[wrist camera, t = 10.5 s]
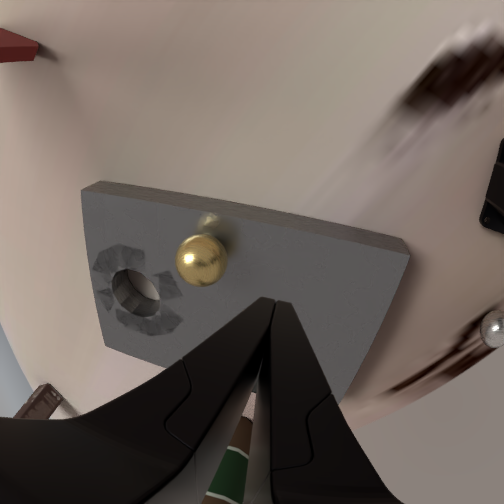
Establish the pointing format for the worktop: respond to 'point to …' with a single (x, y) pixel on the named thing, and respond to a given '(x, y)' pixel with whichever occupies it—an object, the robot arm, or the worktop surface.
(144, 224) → the plate
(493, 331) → the steel ball
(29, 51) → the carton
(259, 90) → the worktop surface
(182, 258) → the brass ball
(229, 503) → the beer bottle
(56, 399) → the box
